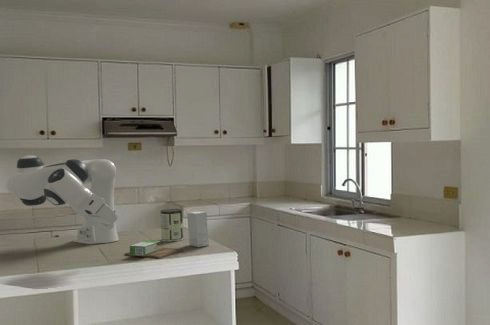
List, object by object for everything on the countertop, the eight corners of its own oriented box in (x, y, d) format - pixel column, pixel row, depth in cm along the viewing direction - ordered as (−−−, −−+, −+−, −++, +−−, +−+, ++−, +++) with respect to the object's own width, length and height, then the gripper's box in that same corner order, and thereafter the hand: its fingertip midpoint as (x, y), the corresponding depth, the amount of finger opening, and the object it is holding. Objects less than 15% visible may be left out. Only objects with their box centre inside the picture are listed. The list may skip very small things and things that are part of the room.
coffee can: (171, 237, 257) (170, 208, 257) (187, 238, 252) (186, 209, 251) (156, 240, 248) (155, 210, 248) (173, 242, 243) (172, 211, 242)
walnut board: (124, 255, 216) (124, 253, 216) (149, 248, 230) (149, 246, 230) (159, 258, 208) (159, 256, 208) (183, 251, 222) (183, 249, 221)
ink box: (144, 256, 209) (161, 249, 221) (144, 246, 209) (161, 240, 221) (129, 255, 211) (147, 249, 224) (129, 245, 211) (146, 239, 224)
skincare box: (209, 245, 232) (208, 212, 231) (196, 247, 228) (195, 213, 228) (199, 243, 239) (198, 210, 238) (187, 245, 235) (186, 211, 235)
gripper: (68, 209, 201) (93, 231, 208) (93, 211, 186) (119, 236, 193) (79, 196, 204) (103, 219, 211) (104, 198, 189) (129, 222, 196)
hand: (111, 227), depth 202 cm, fingers closed
